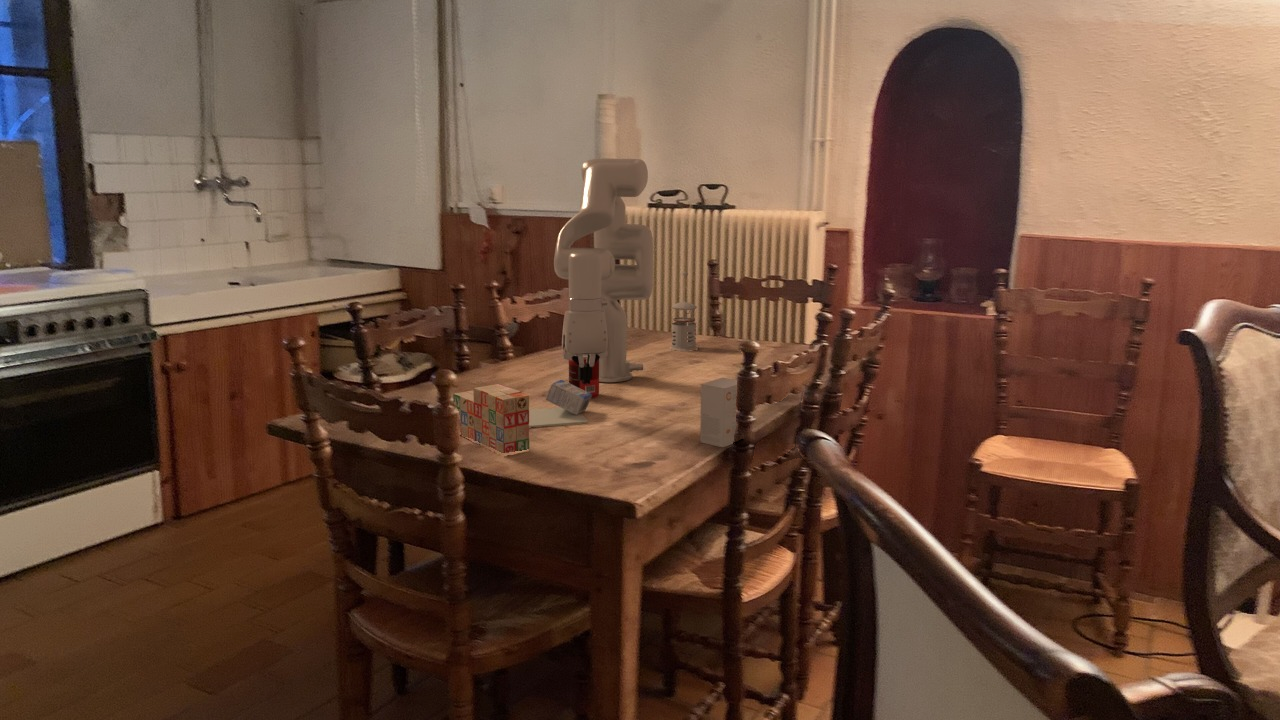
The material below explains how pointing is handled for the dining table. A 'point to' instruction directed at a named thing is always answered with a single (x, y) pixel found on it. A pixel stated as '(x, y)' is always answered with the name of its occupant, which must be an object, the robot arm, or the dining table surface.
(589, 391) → the canned food
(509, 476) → the dining table surface
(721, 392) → the small box
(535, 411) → the mat
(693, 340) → the grey lantern
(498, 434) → the stack of blocks
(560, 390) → the medicine box
